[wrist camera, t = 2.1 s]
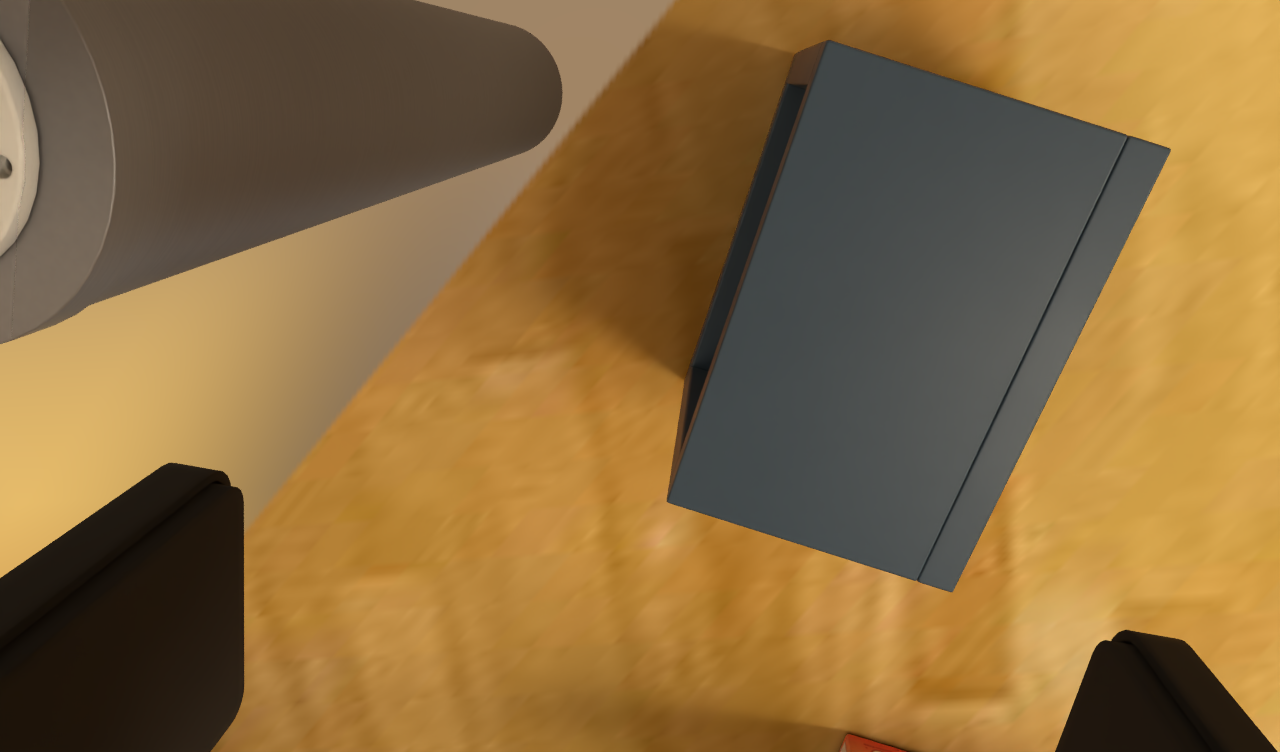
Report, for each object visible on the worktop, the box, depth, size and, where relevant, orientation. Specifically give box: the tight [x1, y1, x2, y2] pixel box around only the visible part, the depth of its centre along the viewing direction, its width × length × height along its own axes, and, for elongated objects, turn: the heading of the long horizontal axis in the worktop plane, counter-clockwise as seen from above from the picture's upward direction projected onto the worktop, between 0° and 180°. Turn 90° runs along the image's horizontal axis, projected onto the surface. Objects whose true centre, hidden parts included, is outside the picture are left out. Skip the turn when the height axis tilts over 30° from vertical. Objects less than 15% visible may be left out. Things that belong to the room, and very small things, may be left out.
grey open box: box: [667, 40, 1171, 592], centre depth 26 cm, size 8×12×10 cm, turn 163°
